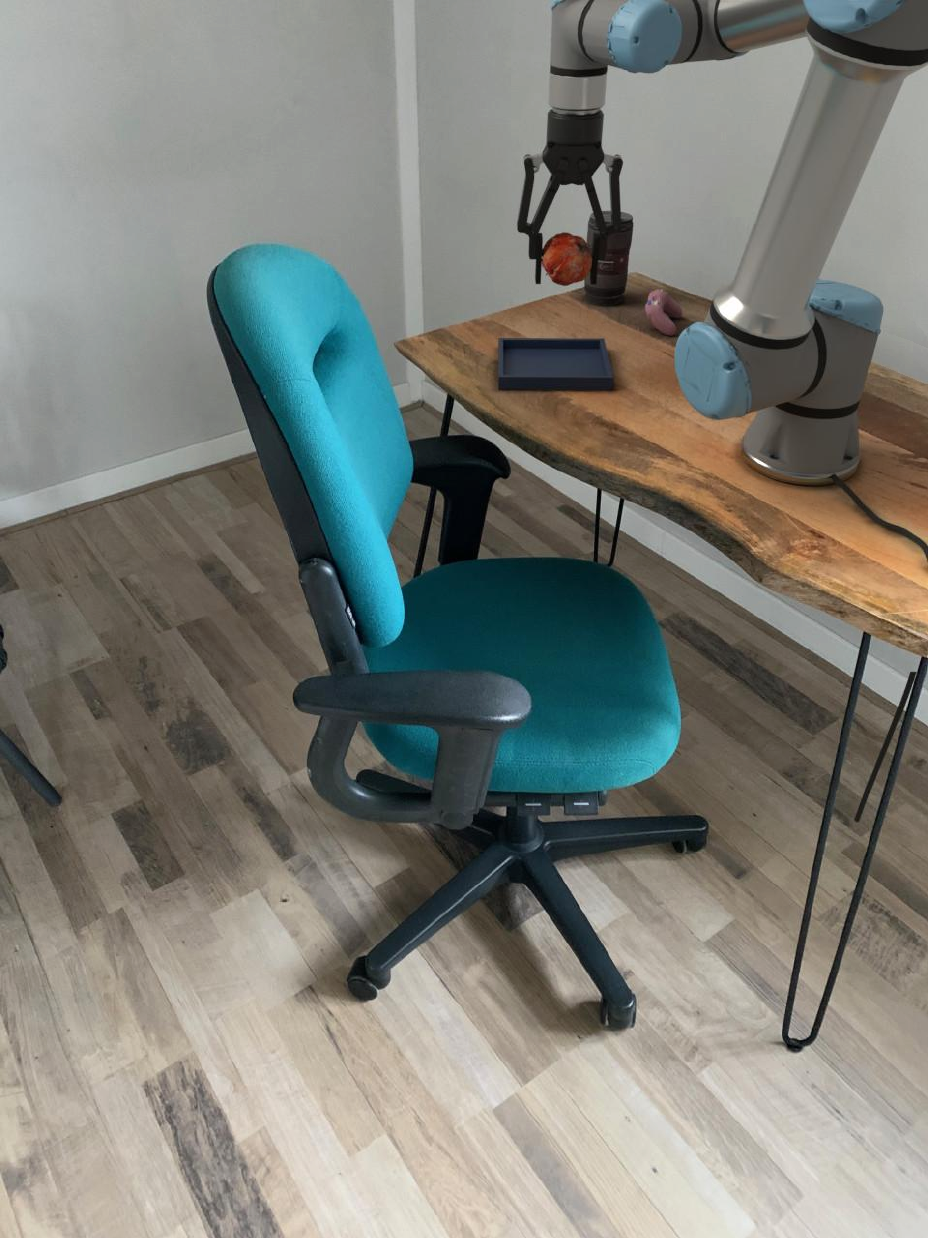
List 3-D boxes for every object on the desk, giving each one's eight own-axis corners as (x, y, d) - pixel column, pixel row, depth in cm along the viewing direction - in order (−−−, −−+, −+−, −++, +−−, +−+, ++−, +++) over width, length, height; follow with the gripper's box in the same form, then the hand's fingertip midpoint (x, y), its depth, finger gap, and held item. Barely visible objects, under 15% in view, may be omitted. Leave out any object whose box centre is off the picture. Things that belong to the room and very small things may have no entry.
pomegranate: (532, 298, 142) (569, 272, 133) (521, 250, 142) (557, 220, 133) (572, 295, 145) (611, 269, 136) (561, 248, 145) (599, 219, 136)
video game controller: (660, 323, 172) (647, 287, 169) (684, 314, 170) (671, 277, 167) (652, 343, 165) (637, 306, 162) (677, 335, 162) (663, 296, 159)
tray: (612, 390, 146) (613, 377, 145) (498, 389, 147) (498, 376, 146) (603, 350, 159) (604, 338, 157) (498, 349, 159) (498, 337, 158)
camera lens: (634, 301, 177) (643, 217, 167) (600, 310, 173) (607, 224, 164) (607, 288, 182) (614, 206, 173) (573, 297, 179) (579, 213, 169)
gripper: (649, 103, 129) (631, 272, 144) (499, 103, 130) (496, 272, 144) (656, 114, 123) (637, 290, 138) (500, 114, 124) (496, 289, 138)
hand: (565, 280), depth 141 cm, fingers closed on pomegranate, 7 cm apart
